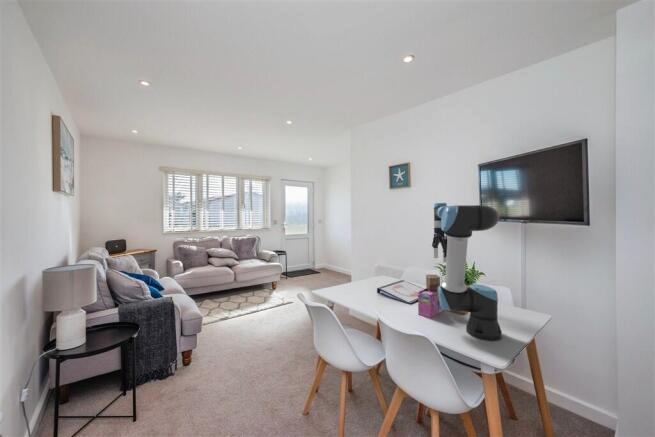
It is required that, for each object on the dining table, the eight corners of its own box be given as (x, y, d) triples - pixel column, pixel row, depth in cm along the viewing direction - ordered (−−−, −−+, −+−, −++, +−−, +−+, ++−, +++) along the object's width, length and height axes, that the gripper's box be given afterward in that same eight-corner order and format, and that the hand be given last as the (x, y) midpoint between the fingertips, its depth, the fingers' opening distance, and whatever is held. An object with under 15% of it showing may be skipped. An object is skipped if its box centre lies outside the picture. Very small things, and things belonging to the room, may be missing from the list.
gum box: (435, 304, 173) (435, 283, 173) (447, 307, 168) (447, 286, 167) (417, 314, 157) (417, 291, 156) (431, 318, 151) (431, 294, 151)
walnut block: (440, 290, 159) (440, 276, 159) (429, 290, 159) (429, 277, 159) (436, 287, 165) (436, 274, 165) (426, 287, 165) (426, 274, 165)
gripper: (455, 228, 158) (455, 264, 159) (437, 225, 183) (437, 256, 184) (443, 228, 158) (443, 264, 159) (426, 225, 183) (426, 256, 184)
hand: (440, 260), depth 172 cm, fingers open, 13 cm apart
